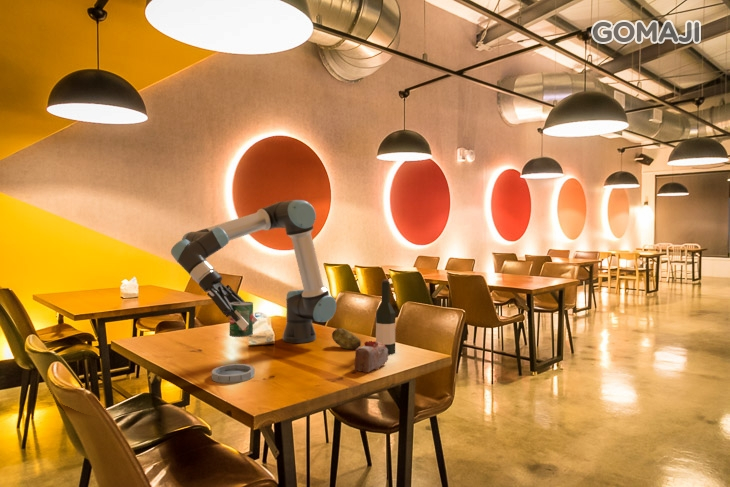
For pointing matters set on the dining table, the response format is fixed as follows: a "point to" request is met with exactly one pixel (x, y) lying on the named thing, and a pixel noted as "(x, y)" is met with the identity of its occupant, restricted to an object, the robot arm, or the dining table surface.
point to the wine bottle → (386, 320)
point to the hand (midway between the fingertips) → (250, 324)
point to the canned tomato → (247, 313)
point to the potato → (346, 339)
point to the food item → (370, 356)
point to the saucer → (233, 373)
